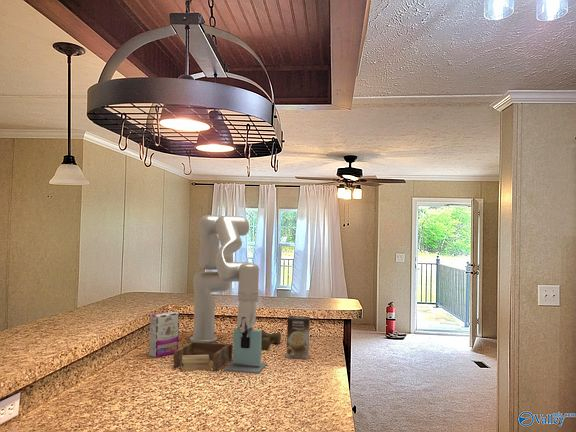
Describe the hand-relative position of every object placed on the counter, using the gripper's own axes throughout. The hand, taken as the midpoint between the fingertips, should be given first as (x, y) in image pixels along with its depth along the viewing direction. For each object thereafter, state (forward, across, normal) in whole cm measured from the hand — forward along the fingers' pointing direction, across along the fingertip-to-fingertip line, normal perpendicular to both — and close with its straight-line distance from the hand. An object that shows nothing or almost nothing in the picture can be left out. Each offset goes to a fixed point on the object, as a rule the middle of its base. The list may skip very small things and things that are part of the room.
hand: (246, 346), depth 170 cm
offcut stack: (+8, +6, -17) cm, 20 cm away
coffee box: (+8, -21, +16) cm, 28 cm away
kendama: (+8, -38, 0) cm, 39 cm away
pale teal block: (+6, 0, 0) cm, 6 cm away
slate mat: (+8, 0, 0) cm, 8 cm away
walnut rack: (+8, 0, -17) cm, 19 cm away
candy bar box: (+8, -9, -37) cm, 39 cm away
